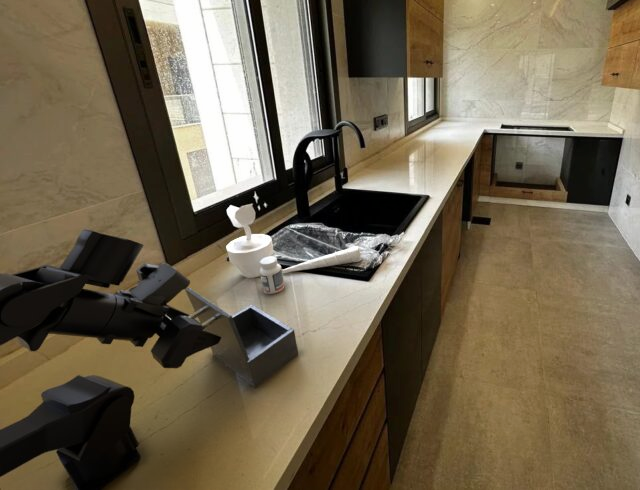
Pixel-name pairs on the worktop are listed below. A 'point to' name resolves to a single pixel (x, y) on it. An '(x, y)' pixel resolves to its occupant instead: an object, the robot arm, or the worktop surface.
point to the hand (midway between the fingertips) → (205, 329)
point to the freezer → (259, 346)
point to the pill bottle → (271, 275)
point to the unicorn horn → (329, 260)
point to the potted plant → (247, 242)
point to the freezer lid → (217, 323)
